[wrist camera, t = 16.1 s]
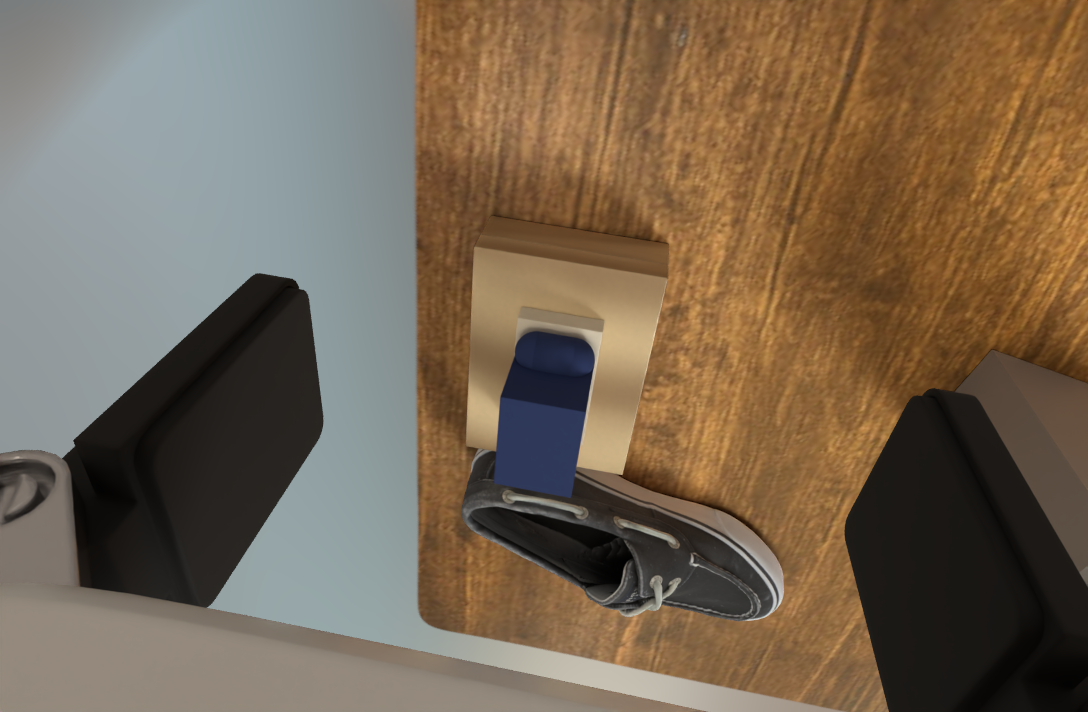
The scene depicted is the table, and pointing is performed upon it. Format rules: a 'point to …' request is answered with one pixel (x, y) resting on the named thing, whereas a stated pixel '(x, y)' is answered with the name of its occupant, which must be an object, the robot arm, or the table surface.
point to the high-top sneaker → (546, 401)
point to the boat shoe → (629, 544)
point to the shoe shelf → (575, 289)
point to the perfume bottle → (1042, 438)
